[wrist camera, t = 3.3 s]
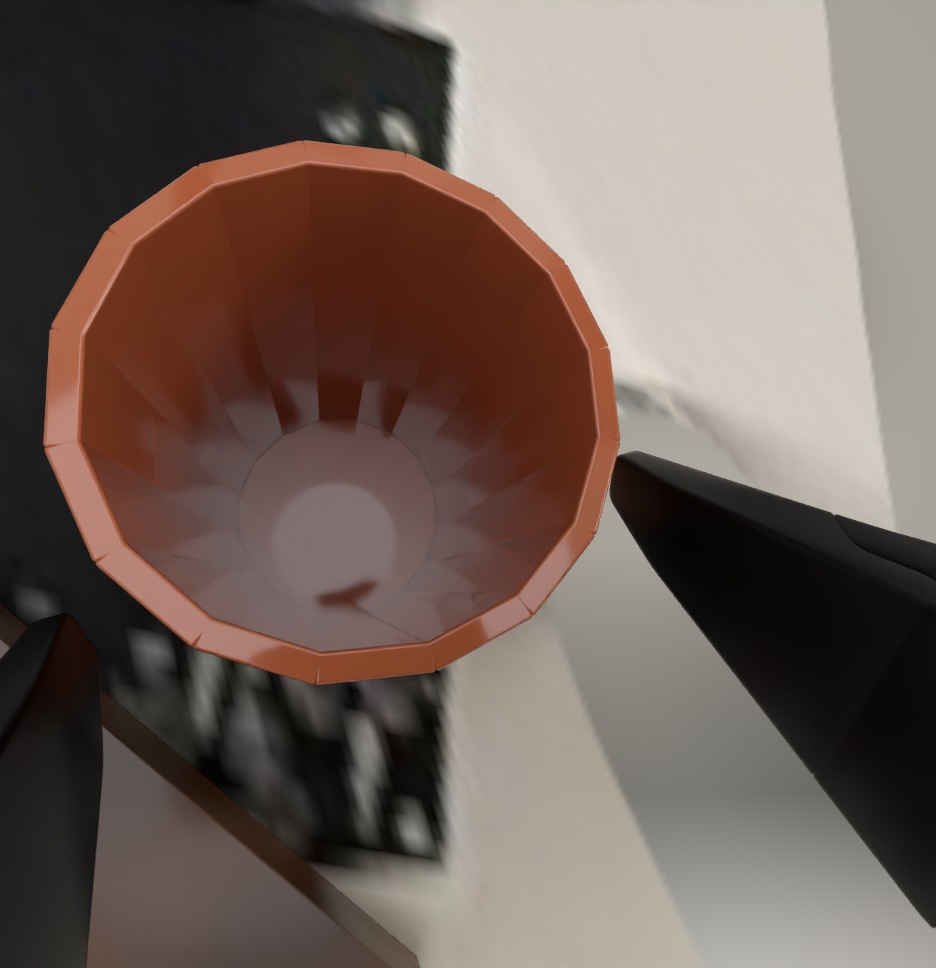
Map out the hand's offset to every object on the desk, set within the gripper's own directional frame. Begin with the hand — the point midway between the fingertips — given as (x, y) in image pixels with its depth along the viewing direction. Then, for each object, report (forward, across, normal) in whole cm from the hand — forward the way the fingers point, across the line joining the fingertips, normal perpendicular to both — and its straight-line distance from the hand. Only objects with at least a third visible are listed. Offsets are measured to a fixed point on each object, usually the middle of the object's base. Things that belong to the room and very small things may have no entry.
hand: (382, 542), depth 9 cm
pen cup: (+8, 0, +5) cm, 9 cm away
